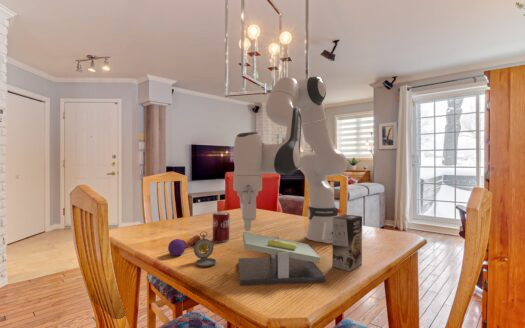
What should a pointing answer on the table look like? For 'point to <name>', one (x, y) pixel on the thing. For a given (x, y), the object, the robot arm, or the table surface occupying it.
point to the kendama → (181, 245)
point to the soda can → (221, 226)
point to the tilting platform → (279, 247)
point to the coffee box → (347, 242)
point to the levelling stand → (278, 270)
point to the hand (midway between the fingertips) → (247, 229)
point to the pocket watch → (204, 252)
